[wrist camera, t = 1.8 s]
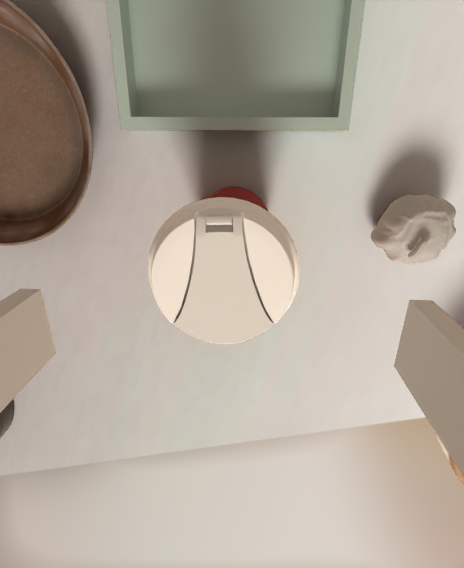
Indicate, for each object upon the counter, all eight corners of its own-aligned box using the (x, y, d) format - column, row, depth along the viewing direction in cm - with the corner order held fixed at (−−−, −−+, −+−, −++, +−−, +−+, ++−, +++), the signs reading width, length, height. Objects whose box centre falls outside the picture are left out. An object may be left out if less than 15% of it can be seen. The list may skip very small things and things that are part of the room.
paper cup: (185, 173, 27) (129, 203, 15) (280, 171, 27) (309, 200, 14) (192, 264, 31) (151, 355, 18) (278, 263, 30) (299, 356, 17)
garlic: (378, 266, 30) (403, 290, 25) (354, 213, 28) (375, 228, 23) (447, 232, 28) (487, 251, 24) (425, 175, 27) (464, 182, 22)
